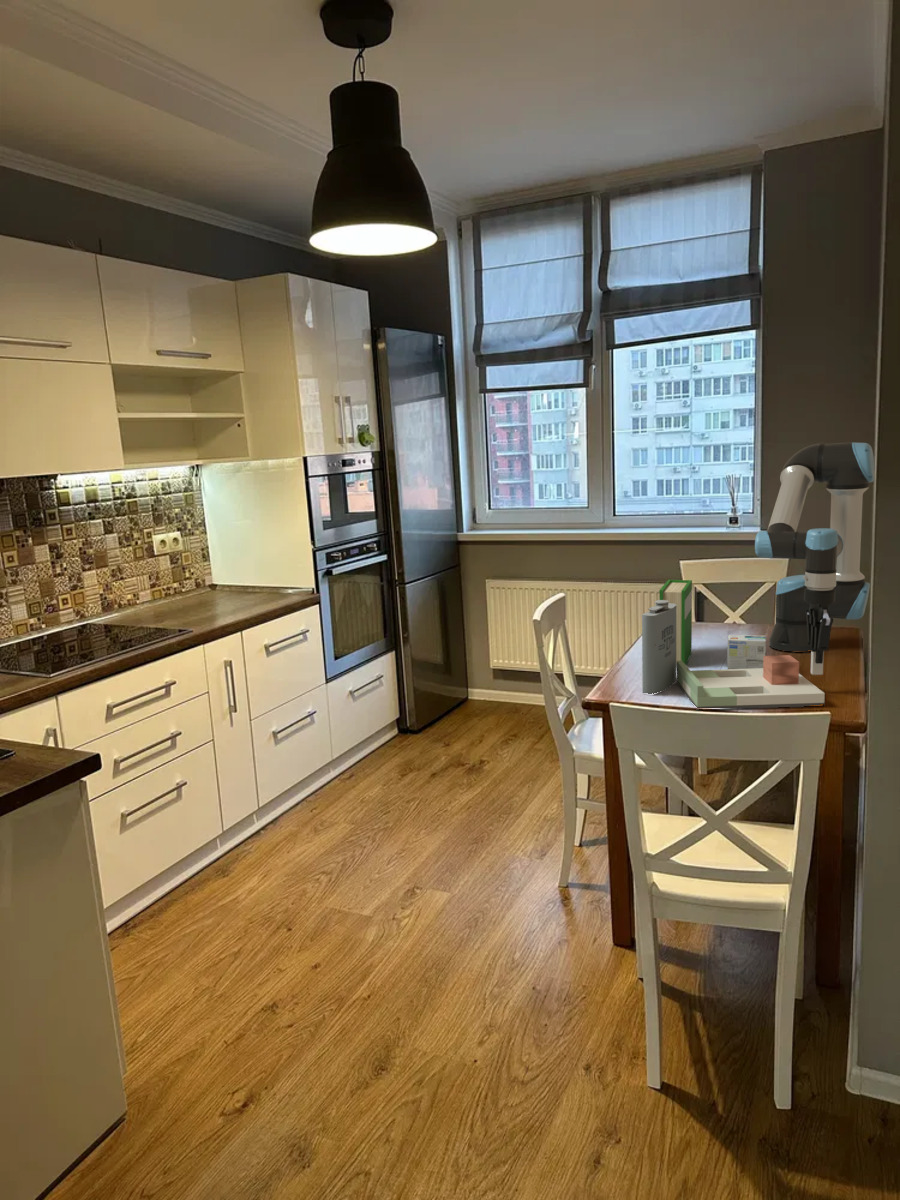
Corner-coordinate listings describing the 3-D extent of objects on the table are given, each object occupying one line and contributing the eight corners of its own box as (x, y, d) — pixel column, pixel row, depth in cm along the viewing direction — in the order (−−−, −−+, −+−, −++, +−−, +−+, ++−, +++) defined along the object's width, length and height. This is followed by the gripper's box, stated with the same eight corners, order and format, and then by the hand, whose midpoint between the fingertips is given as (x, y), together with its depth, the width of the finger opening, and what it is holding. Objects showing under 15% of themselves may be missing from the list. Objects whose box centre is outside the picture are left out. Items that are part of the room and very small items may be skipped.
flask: (656, 696, 224) (656, 607, 219) (640, 693, 227) (640, 605, 222) (680, 679, 237) (681, 595, 232) (665, 677, 240) (665, 594, 235)
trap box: (790, 679, 233) (791, 657, 231) (824, 706, 209) (825, 682, 208) (676, 682, 235) (676, 661, 233) (697, 710, 211) (697, 686, 210)
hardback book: (684, 668, 248) (684, 590, 244) (659, 666, 251) (659, 590, 247) (691, 653, 264) (692, 580, 260) (668, 652, 267) (668, 579, 262)
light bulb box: (765, 670, 242) (766, 634, 240) (766, 676, 236) (767, 640, 234) (727, 668, 246) (727, 633, 244) (727, 674, 240) (727, 639, 238)
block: (789, 676, 224) (789, 655, 223) (798, 683, 217) (799, 662, 216) (763, 677, 224) (763, 656, 223) (771, 684, 217) (772, 663, 216)
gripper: (796, 583, 222) (793, 667, 226) (814, 592, 209) (811, 681, 214) (824, 582, 221) (821, 666, 226) (845, 591, 209) (841, 680, 213)
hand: (816, 673), depth 220 cm, fingers closed
